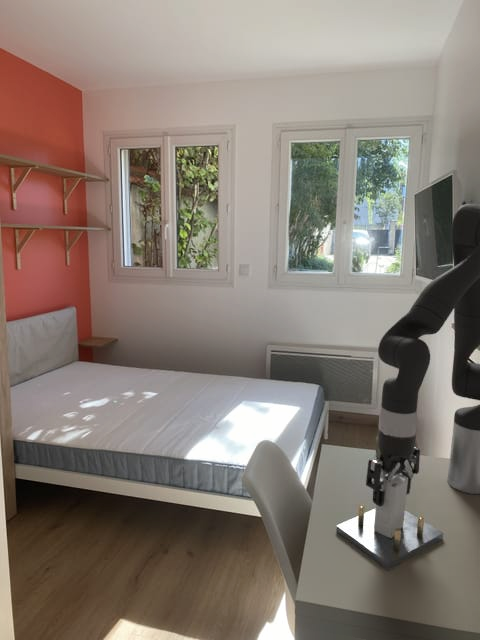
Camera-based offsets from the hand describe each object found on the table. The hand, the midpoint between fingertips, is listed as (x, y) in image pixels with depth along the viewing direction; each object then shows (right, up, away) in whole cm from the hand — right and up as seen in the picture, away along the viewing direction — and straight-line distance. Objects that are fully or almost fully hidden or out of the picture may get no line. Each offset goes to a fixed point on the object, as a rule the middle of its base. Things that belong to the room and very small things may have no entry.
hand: (391, 498), depth 98 cm
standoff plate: (0, -9, +1) cm, 9 cm away
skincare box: (0, -7, +1) cm, 7 cm away
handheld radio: (+8, -5, +28) cm, 30 cm away
